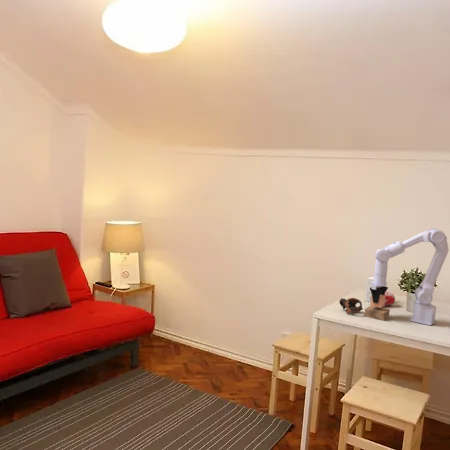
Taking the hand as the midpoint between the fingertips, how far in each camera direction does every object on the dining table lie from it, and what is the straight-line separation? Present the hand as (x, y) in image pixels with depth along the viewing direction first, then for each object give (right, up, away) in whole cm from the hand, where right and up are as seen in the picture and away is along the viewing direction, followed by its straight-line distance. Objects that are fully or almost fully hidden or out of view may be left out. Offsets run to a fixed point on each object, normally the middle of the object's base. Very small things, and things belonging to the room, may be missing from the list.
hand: (377, 302), depth 228 cm
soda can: (+4, -2, +19) cm, 19 cm away
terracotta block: (0, -2, 0) cm, 2 cm away
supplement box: (+7, -5, +30) cm, 31 cm away
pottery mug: (-12, -6, +5) cm, 14 cm away
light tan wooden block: (0, -7, 0) cm, 7 cm away
